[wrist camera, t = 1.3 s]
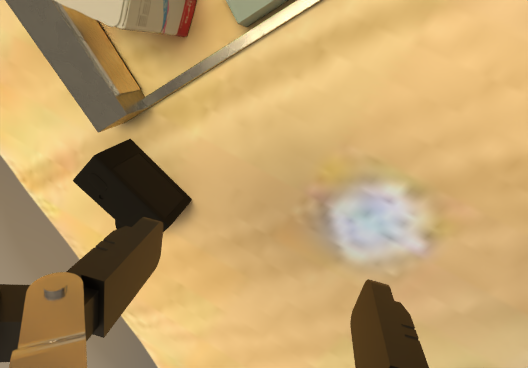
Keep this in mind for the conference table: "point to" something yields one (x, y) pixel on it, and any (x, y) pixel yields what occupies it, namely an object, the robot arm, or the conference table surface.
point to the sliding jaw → (252, 9)
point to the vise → (114, 58)
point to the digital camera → (131, 186)
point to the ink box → (139, 14)
